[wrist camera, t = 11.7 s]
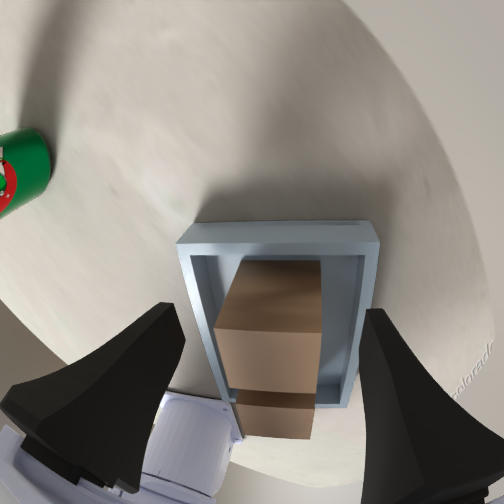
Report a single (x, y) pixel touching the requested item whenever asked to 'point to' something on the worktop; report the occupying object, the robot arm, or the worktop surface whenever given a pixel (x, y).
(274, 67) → the worktop surface
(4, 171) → the soda can
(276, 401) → the walnut block
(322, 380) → the tray
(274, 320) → the walnut block
